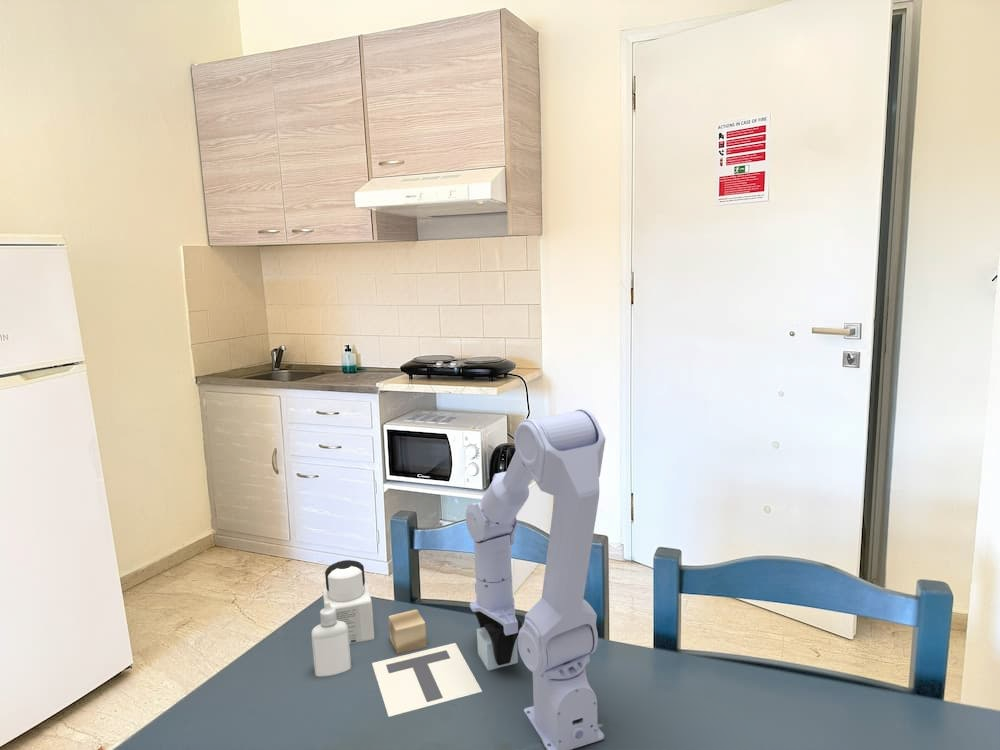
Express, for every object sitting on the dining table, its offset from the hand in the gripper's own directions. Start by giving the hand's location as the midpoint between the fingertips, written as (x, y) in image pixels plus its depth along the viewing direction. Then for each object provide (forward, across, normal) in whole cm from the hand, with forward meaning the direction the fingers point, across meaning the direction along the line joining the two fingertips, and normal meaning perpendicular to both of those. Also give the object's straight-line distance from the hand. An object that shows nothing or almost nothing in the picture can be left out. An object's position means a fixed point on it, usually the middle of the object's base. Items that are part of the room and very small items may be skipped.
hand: (497, 653), depth 107 cm
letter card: (+1, 0, -12) cm, 12 cm away
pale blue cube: (+1, 0, 0) cm, 1 cm away
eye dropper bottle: (+2, -8, -25) cm, 26 cm away
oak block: (+2, -10, -12) cm, 16 cm away
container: (+2, -18, -21) cm, 28 cm away
